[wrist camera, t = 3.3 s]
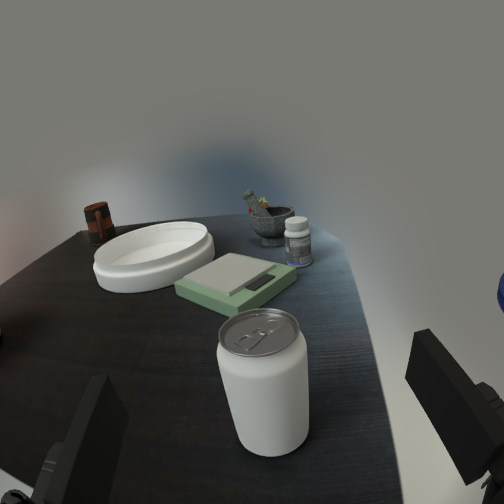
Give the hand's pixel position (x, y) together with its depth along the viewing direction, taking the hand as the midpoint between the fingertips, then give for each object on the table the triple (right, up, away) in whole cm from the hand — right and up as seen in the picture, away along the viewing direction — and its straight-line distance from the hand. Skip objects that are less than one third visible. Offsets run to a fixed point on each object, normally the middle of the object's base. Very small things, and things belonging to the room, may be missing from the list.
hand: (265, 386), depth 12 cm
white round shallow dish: (-22, +3, +56) cm, 60 cm away
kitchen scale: (-3, -1, +41) cm, 41 cm away
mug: (-45, +8, +78) cm, 90 cm away
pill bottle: (+8, +3, +47) cm, 48 cm away
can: (+2, -11, +14) cm, 18 cm away
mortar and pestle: (+4, +8, +60) cm, 61 cm away
